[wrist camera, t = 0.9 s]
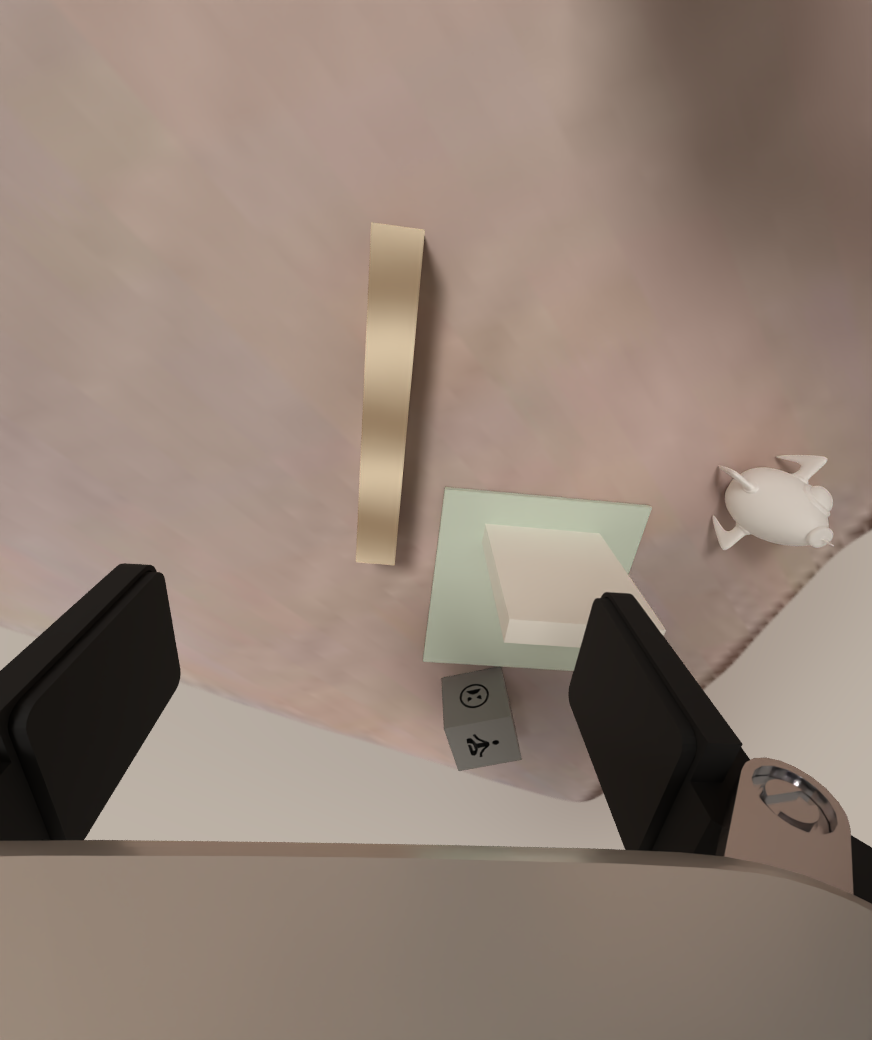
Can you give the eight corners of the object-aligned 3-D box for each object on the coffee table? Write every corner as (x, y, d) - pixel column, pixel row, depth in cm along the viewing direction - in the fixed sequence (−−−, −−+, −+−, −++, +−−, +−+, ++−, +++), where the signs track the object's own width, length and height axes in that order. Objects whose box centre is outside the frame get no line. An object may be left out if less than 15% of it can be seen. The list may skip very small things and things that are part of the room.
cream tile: (485, 523, 32) (509, 619, 23) (599, 533, 33) (666, 630, 24) (481, 545, 33) (503, 645, 24) (593, 554, 33) (655, 655, 25)
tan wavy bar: (378, 229, 25) (371, 222, 21) (424, 235, 25) (424, 229, 21) (362, 530, 33) (355, 562, 29) (397, 534, 33) (394, 565, 30)
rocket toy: (789, 440, 30) (902, 490, 23) (775, 514, 33) (873, 579, 26) (704, 454, 31) (790, 508, 24) (697, 527, 33) (773, 595, 26)
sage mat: (444, 486, 31) (445, 489, 31) (649, 505, 32) (651, 507, 32) (423, 658, 38) (423, 661, 38) (592, 668, 39) (593, 672, 39)
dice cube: (441, 677, 39) (443, 728, 35) (500, 665, 39) (511, 716, 34) (454, 718, 41) (458, 771, 37) (510, 707, 41) (521, 759, 37)
